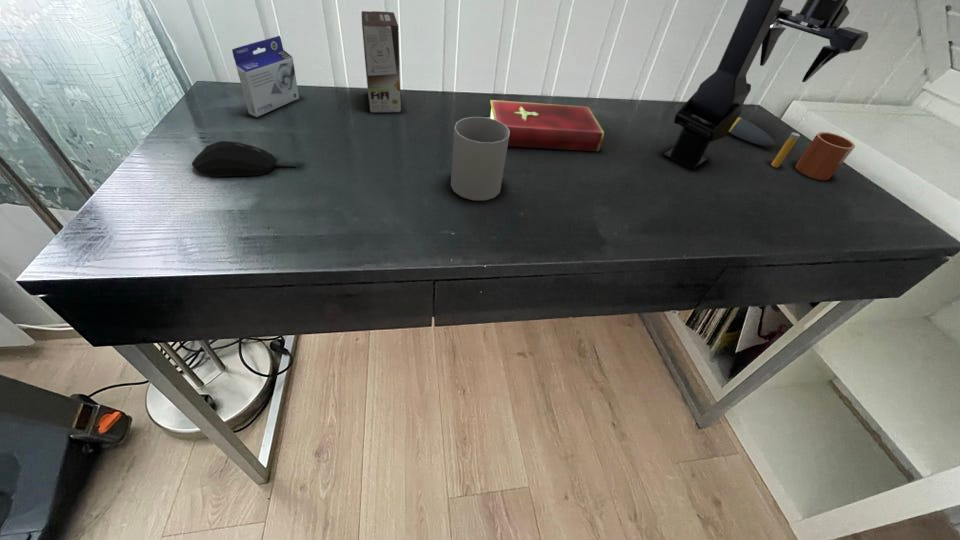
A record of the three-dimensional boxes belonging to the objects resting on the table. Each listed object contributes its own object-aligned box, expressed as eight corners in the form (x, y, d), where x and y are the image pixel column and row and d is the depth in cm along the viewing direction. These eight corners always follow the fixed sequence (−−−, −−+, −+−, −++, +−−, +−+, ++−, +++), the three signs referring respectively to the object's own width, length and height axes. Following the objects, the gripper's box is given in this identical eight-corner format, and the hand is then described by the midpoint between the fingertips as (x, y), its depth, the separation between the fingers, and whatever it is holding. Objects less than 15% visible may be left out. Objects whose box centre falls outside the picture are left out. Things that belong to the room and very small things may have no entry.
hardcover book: (598, 152, 83) (605, 132, 80) (494, 146, 80) (496, 125, 77) (583, 124, 91) (588, 105, 88) (488, 118, 89) (490, 98, 86)
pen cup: (825, 183, 83) (850, 152, 78) (790, 169, 86) (813, 137, 81) (833, 173, 87) (858, 142, 82) (800, 159, 90) (822, 129, 85)
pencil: (777, 168, 86) (798, 136, 81) (769, 165, 87) (790, 133, 82) (779, 166, 87) (801, 134, 82) (772, 162, 87) (793, 131, 83)
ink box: (257, 118, 78) (239, 52, 70) (248, 115, 79) (228, 49, 71) (301, 98, 86) (289, 37, 78) (292, 95, 87) (279, 34, 79)
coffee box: (401, 112, 86) (399, 25, 75) (370, 113, 85) (362, 24, 73) (397, 94, 92) (394, 11, 81) (367, 94, 91) (360, 9, 80)
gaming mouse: (293, 177, 66) (288, 154, 63) (189, 177, 63) (178, 154, 61) (298, 157, 71) (294, 134, 68) (201, 156, 68) (192, 133, 65)
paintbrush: (775, 145, 94) (789, 124, 90) (769, 152, 91) (783, 130, 87) (691, 113, 102) (700, 92, 99) (683, 118, 99) (692, 97, 96)
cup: (506, 180, 72) (516, 125, 65) (492, 205, 66) (501, 148, 59) (461, 167, 73) (465, 112, 66) (443, 191, 68) (445, 133, 61)
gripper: (907, -3, 75) (844, 86, 86) (805, -27, 85) (760, 55, 96) (883, -2, 70) (820, 92, 80) (778, -28, 80) (734, 59, 91)
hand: (782, 73), depth 87 cm, fingers open, 9 cm apart
